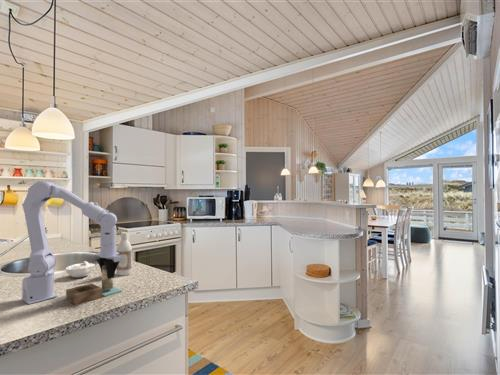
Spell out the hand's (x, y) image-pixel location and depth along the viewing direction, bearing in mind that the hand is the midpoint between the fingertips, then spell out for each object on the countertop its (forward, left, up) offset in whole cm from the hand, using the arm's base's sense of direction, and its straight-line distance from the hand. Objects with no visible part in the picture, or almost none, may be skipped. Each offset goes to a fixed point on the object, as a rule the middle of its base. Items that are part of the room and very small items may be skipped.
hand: (108, 276), depth 115 cm
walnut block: (-9, 0, -6) cm, 11 cm away
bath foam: (+17, +18, -6) cm, 25 cm away
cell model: (+2, +30, -6) cm, 31 cm away
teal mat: (0, 0, -6) cm, 6 cm away
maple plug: (0, 0, -4) cm, 5 cm away
